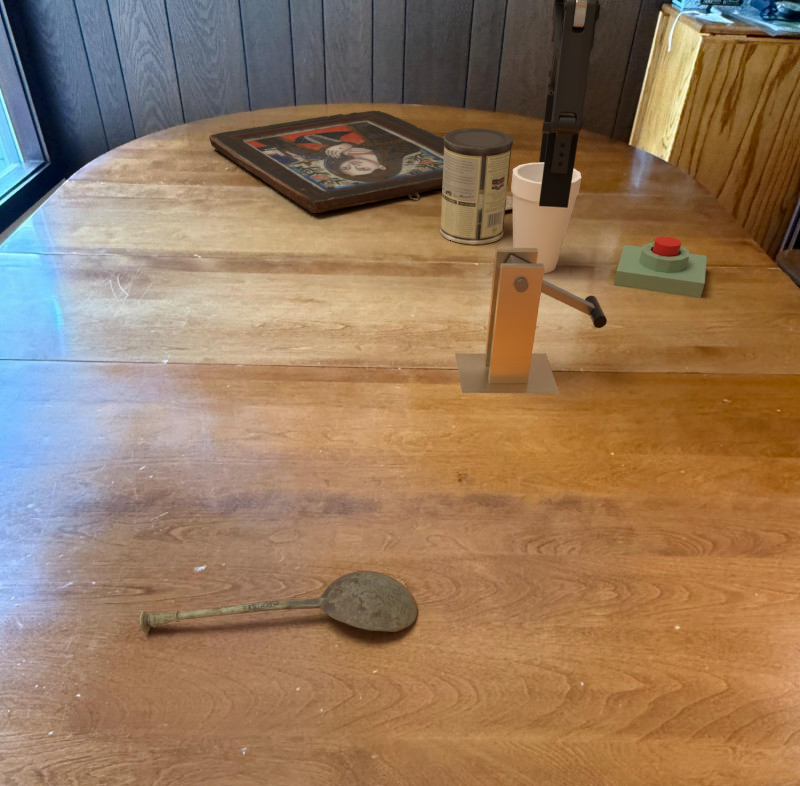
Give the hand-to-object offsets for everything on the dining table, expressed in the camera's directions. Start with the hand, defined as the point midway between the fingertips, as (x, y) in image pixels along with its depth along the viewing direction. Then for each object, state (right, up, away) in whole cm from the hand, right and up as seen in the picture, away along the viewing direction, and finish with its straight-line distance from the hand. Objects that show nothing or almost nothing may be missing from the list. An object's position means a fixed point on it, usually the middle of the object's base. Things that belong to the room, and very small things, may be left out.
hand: (552, 182), depth 79 cm
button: (+22, +4, +31) cm, 38 cm away
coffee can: (-4, +12, +45) cm, 47 cm away
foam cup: (+4, +4, +36) cm, 37 cm away
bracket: (-3, -18, +11) cm, 22 cm away
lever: (0, -11, +5) cm, 12 cm away
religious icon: (-25, +35, +69) cm, 82 cm away
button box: (+22, +1, +33) cm, 40 cm away
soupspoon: (-25, -43, -16) cm, 52 cm away
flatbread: (+1, +20, +54) cm, 58 cm away
